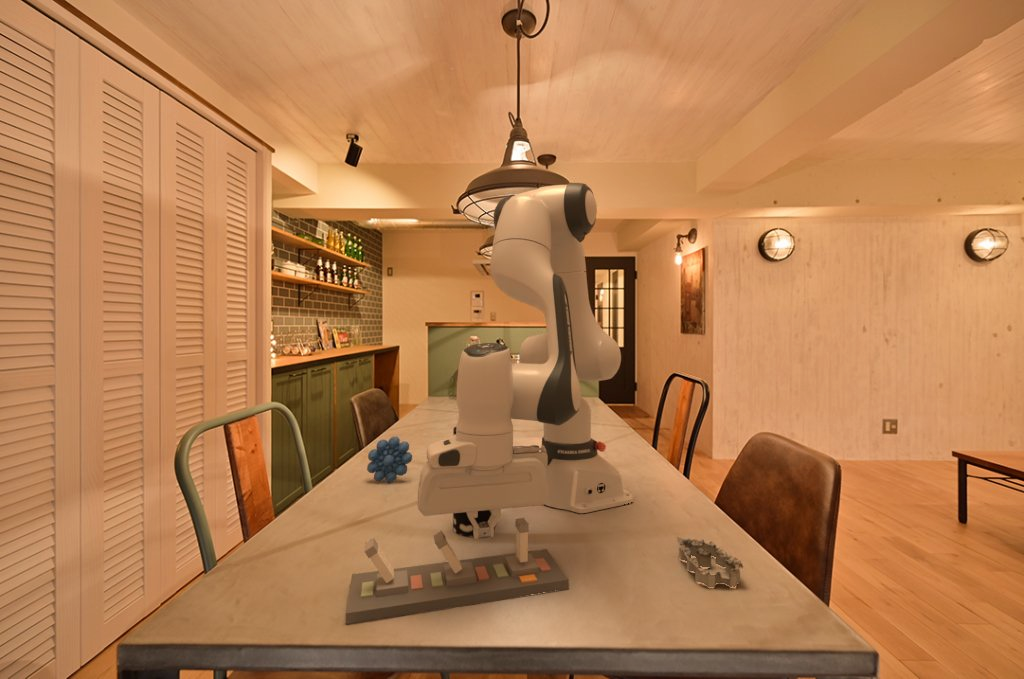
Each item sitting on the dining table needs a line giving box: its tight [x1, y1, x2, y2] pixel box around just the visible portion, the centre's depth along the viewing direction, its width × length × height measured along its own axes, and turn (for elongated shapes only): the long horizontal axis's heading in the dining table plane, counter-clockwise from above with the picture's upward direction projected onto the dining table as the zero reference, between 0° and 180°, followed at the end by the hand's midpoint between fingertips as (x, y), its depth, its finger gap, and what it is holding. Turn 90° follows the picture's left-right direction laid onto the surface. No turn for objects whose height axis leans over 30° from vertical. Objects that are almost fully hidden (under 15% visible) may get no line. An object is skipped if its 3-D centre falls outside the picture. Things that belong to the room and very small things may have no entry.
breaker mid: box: [433, 530, 462, 574], centre depth 69 cm, size 1×3×6 cm, turn 15°
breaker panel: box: [345, 548, 570, 625], centre depth 69 cm, size 32×10×2 cm, turn 105°
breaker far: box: [363, 537, 395, 583], centre depth 66 cm, size 1×3×6 cm, turn 15°
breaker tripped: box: [515, 517, 530, 562], centre depth 72 cm, size 1×3×6 cm, turn 15°
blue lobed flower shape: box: [366, 436, 413, 483], centre depth 118 cm, size 12×7×12 cm, turn 91°
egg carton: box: [676, 536, 744, 588], centre depth 74 cm, size 11×8×4 cm
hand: (483, 536), depth 70 cm, fingers closed
